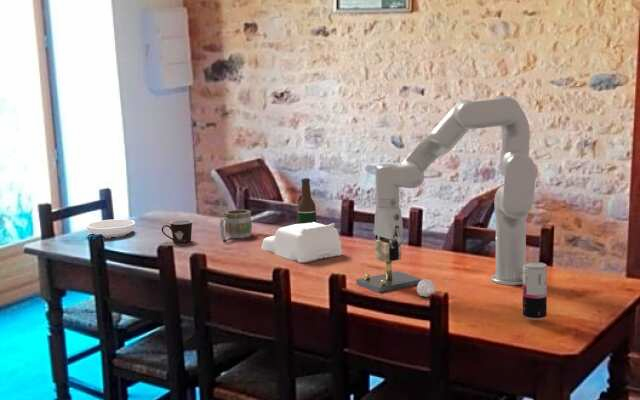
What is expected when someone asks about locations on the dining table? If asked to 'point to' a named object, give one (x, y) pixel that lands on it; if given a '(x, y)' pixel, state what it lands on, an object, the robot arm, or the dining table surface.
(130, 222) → the bowl
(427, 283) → the garlic bulb
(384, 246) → the beige patterned cube
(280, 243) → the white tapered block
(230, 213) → the mug
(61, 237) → the dining table surface
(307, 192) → the beer bottle
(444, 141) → the robot arm
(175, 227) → the coffee mug
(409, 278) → the pin plate
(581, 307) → the dining table surface
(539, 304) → the beverage can
